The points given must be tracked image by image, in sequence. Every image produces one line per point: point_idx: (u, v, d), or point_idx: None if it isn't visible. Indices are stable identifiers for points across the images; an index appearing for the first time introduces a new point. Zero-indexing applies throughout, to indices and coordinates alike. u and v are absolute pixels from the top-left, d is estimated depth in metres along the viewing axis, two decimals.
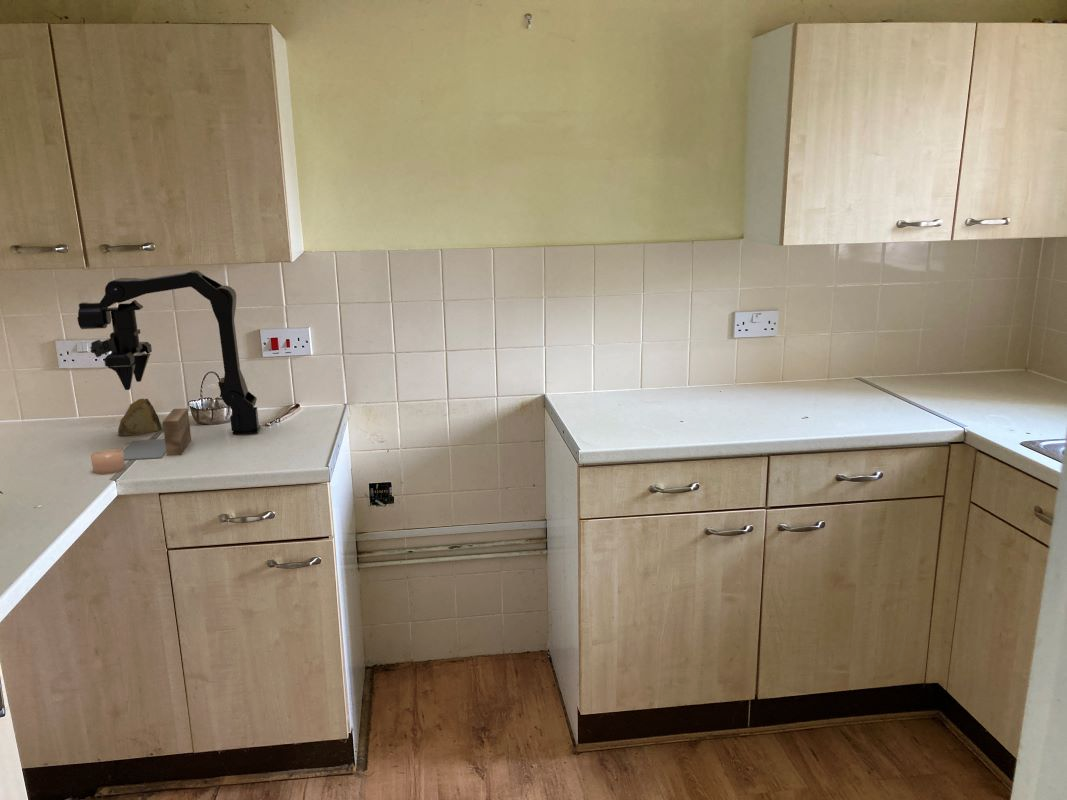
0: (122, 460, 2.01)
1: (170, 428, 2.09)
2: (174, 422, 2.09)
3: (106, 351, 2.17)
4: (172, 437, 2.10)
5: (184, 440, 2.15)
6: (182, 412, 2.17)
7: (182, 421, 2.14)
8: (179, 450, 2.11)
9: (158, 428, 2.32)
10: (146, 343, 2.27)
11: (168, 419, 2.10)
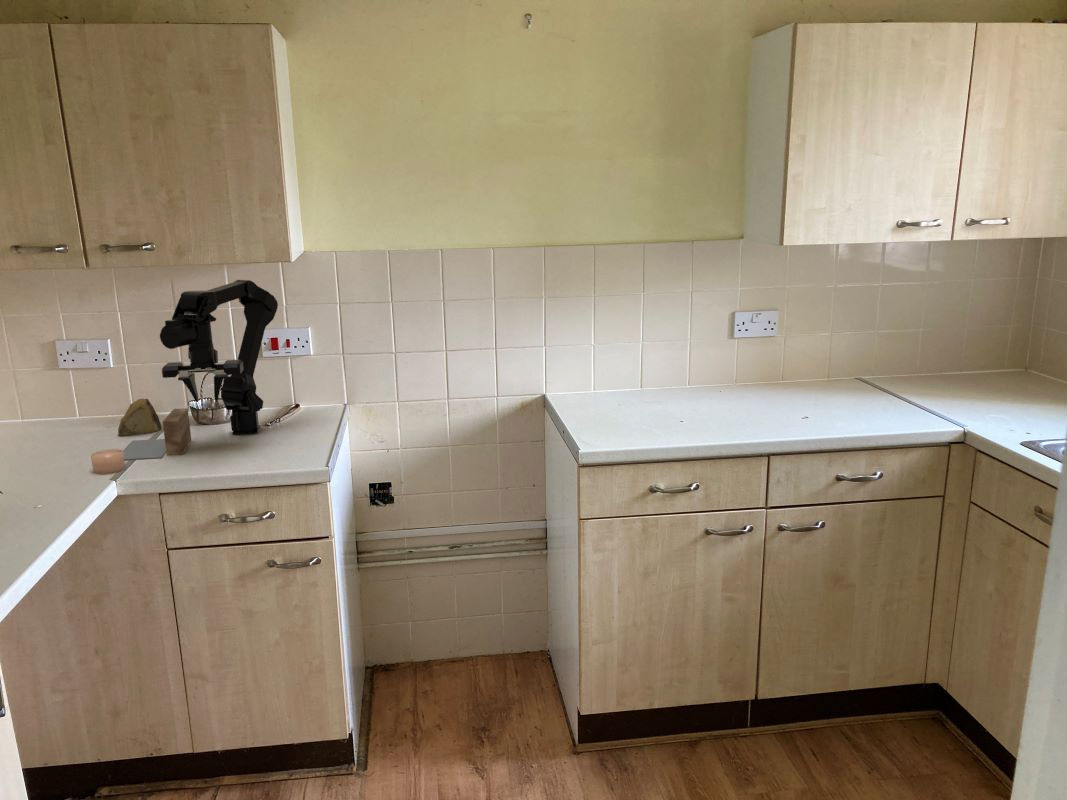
0: (122, 460, 2.01)
1: (170, 428, 2.09)
2: (174, 422, 2.09)
3: None
4: (172, 437, 2.10)
5: (184, 440, 2.15)
6: (182, 412, 2.17)
7: (182, 421, 2.14)
8: (179, 450, 2.11)
9: (158, 428, 2.32)
10: (231, 364, 2.11)
11: (168, 419, 2.10)
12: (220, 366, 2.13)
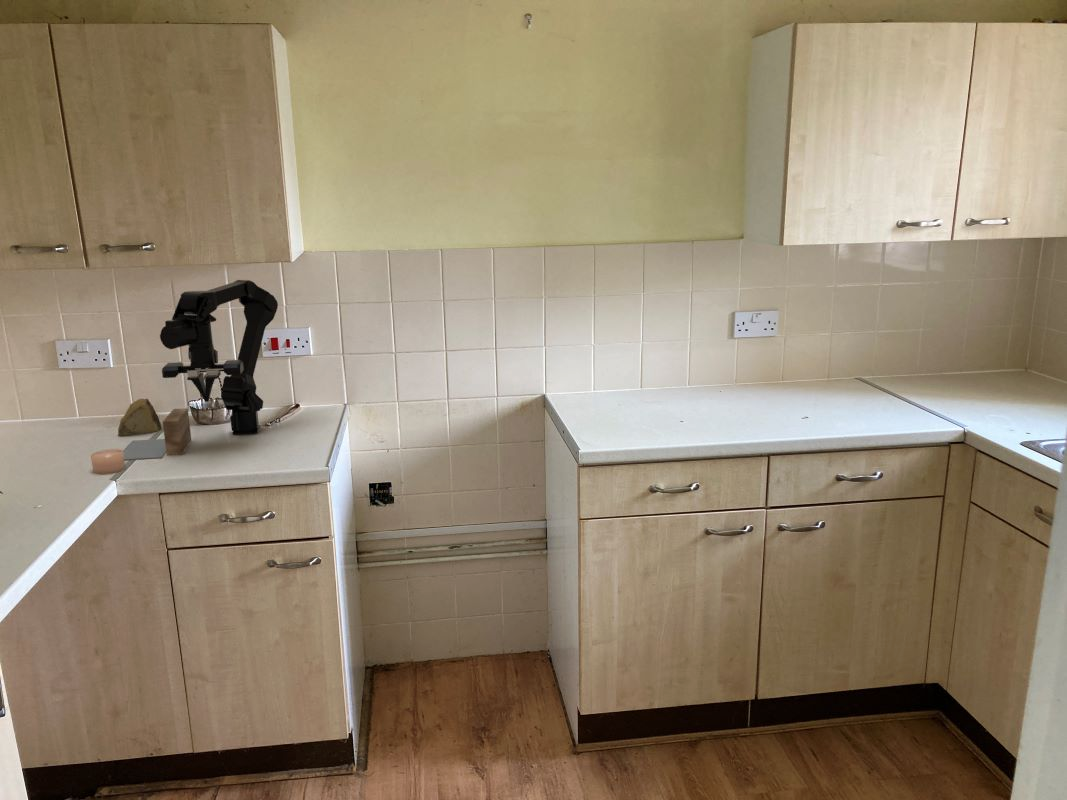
0: (122, 460, 2.01)
1: (170, 428, 2.09)
2: (174, 422, 2.09)
3: None
4: (172, 437, 2.10)
5: (184, 440, 2.15)
6: (182, 412, 2.17)
7: (182, 421, 2.14)
8: (179, 450, 2.11)
9: (158, 428, 2.32)
10: (231, 364, 2.12)
11: (168, 419, 2.10)
12: (220, 366, 2.13)
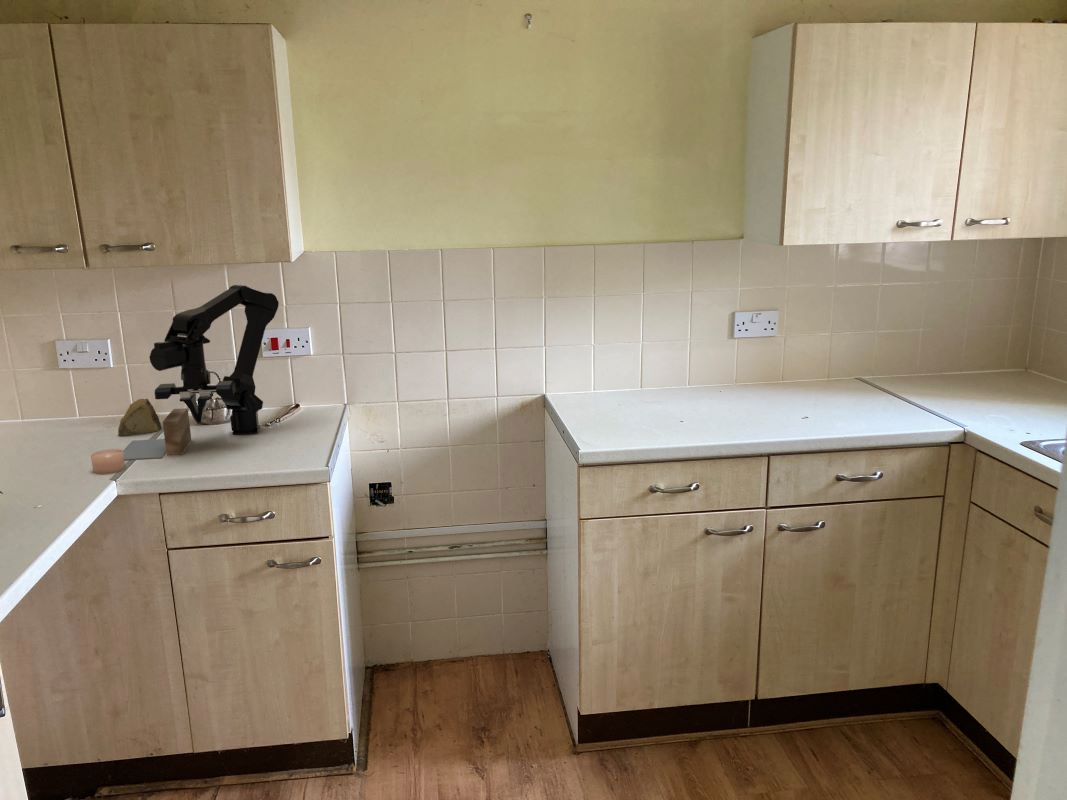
0: (122, 460, 2.01)
1: (170, 428, 2.09)
2: (174, 422, 2.09)
3: None
4: (172, 437, 2.10)
5: (184, 440, 2.15)
6: (182, 412, 2.17)
7: (182, 421, 2.14)
8: (179, 450, 2.11)
9: (158, 428, 2.32)
10: (224, 385, 2.12)
11: (168, 419, 2.10)
12: (213, 387, 2.14)
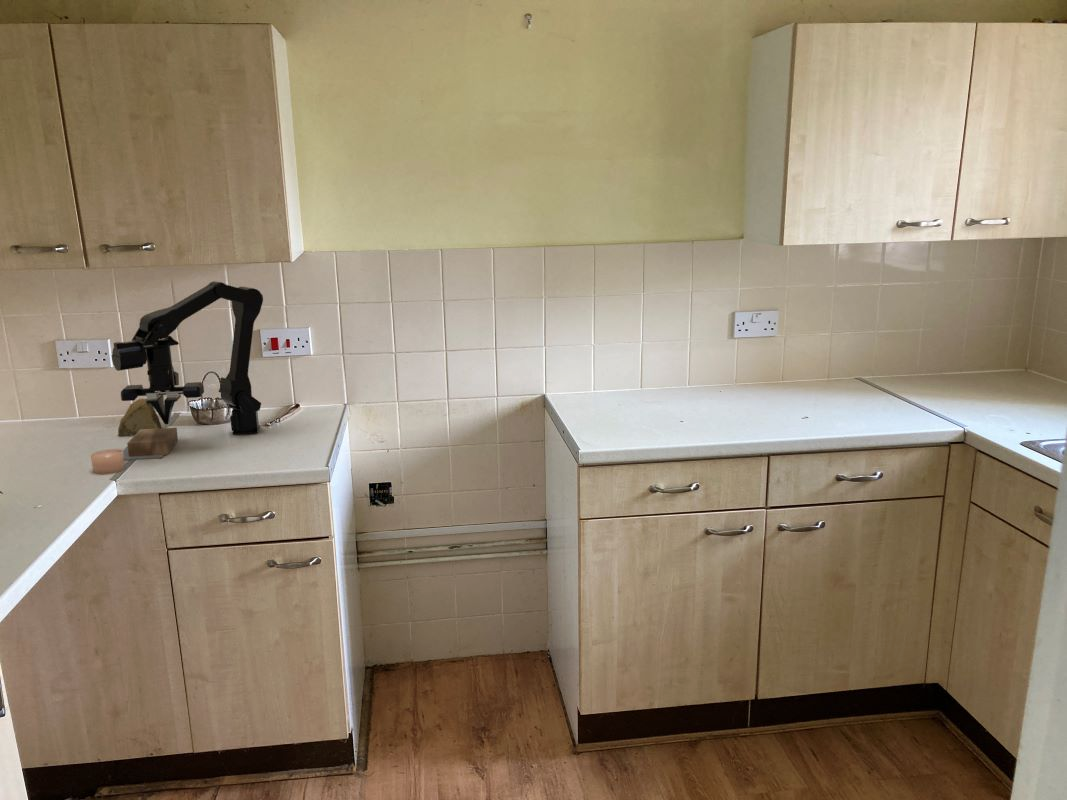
0: (122, 460, 2.01)
1: (136, 449, 2.09)
2: (129, 445, 2.09)
3: None
4: (146, 448, 2.09)
5: (160, 436, 2.14)
6: None
7: (139, 437, 2.13)
8: (160, 442, 2.10)
9: None
10: (191, 387, 2.11)
11: None
12: (180, 389, 2.13)
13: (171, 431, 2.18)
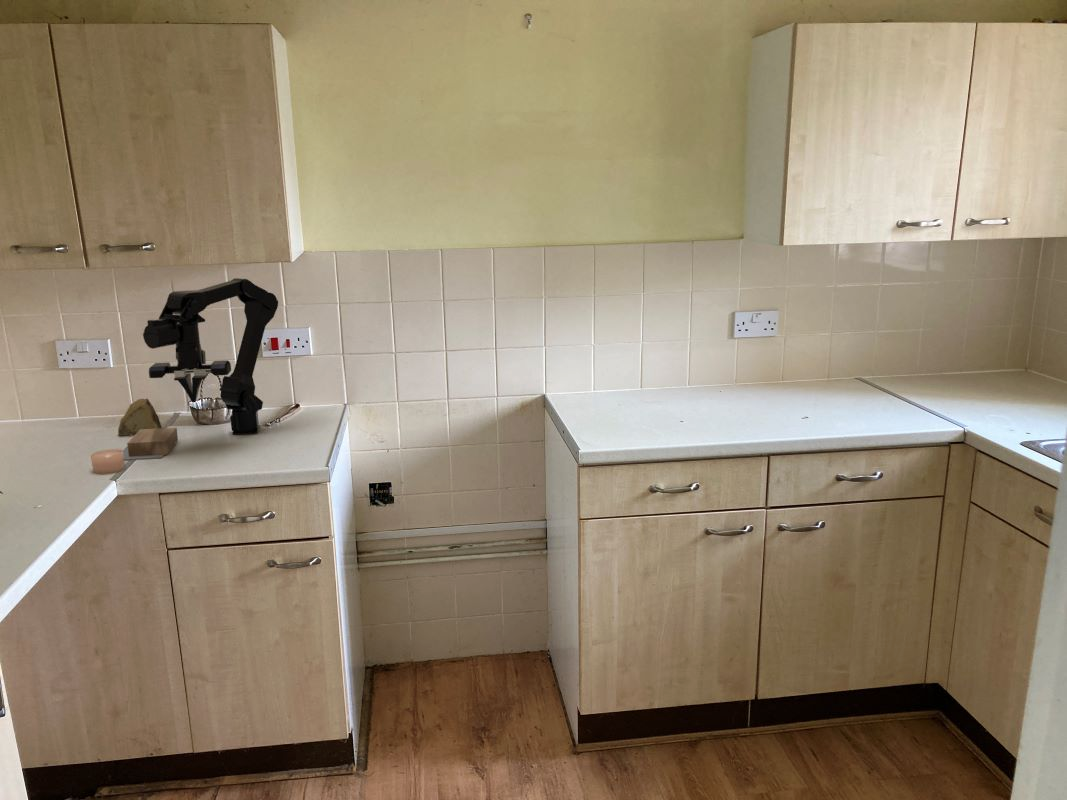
0: (122, 460, 2.01)
1: (136, 449, 2.09)
2: (129, 445, 2.09)
3: None
4: (146, 448, 2.09)
5: (160, 436, 2.14)
6: None
7: (139, 437, 2.13)
8: (160, 442, 2.10)
9: None
10: (218, 365, 2.11)
11: None
12: (207, 367, 2.12)
13: (171, 431, 2.18)
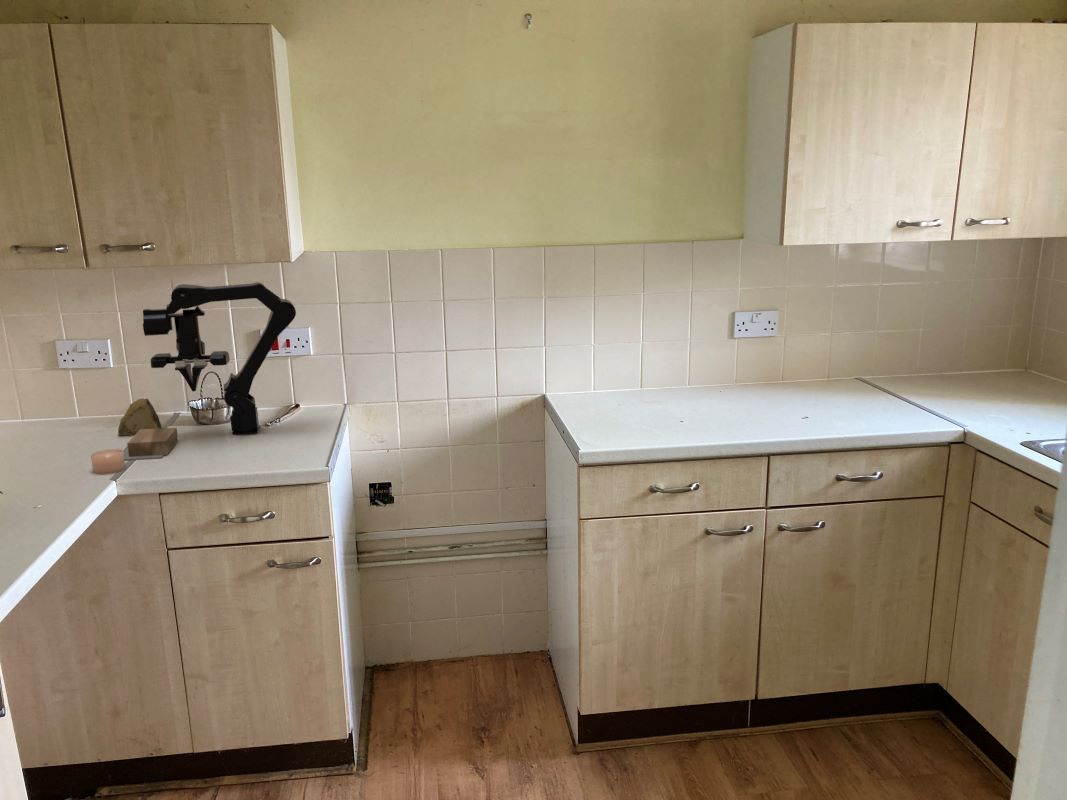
0: (122, 460, 2.01)
1: (136, 449, 2.09)
2: (129, 445, 2.09)
3: None
4: (146, 448, 2.09)
5: (160, 436, 2.14)
6: None
7: (139, 437, 2.13)
8: (160, 442, 2.10)
9: None
10: (217, 355, 2.20)
11: None
12: (207, 357, 2.21)
13: (171, 431, 2.18)
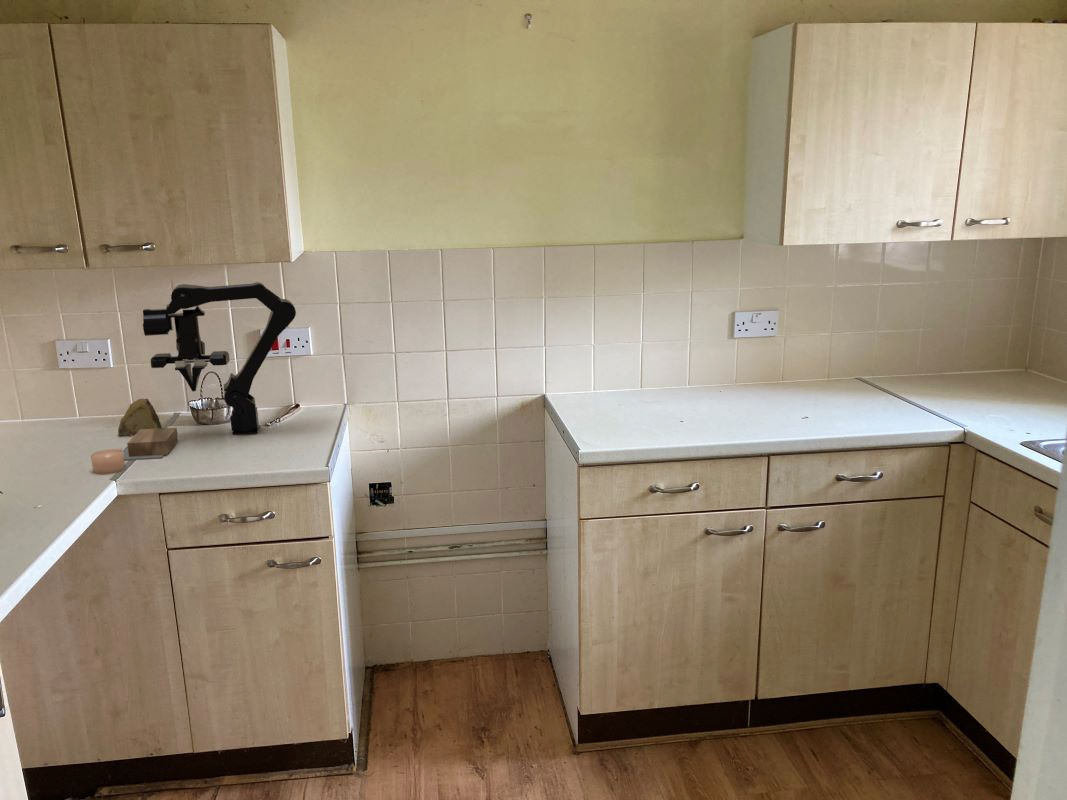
0: (122, 460, 2.01)
1: (136, 449, 2.09)
2: (129, 445, 2.09)
3: None
4: (146, 448, 2.09)
5: (160, 436, 2.14)
6: None
7: (139, 437, 2.13)
8: (160, 442, 2.10)
9: None
10: (217, 355, 2.20)
11: None
12: (207, 357, 2.21)
13: (171, 431, 2.18)
